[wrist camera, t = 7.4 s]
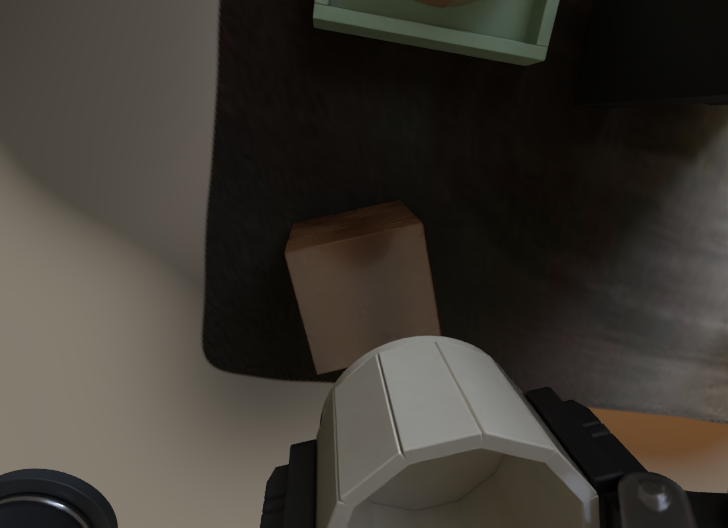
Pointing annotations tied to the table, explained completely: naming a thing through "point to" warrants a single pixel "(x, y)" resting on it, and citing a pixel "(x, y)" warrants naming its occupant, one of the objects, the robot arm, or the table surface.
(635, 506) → the robot arm
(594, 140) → the table surface
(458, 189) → the table surface
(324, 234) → the block
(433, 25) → the tray
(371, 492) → the small bowl
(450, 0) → the big bowl
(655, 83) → the light fixture
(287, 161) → the table surface
